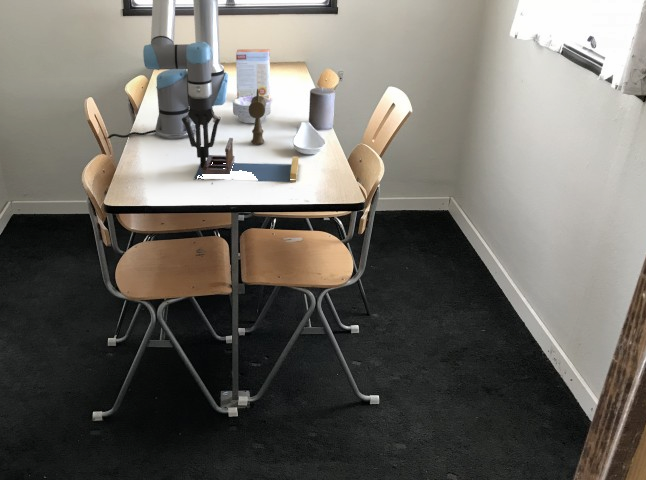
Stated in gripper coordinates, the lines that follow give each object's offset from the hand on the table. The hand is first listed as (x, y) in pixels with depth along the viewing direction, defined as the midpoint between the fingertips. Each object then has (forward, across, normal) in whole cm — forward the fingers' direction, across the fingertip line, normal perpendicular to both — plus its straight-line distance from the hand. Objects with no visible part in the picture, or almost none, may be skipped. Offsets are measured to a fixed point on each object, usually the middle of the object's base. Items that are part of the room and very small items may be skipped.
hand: (203, 166), depth 240 cm
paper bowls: (+2, +10, +58) cm, 59 cm away
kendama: (+2, +16, +30) cm, 34 cm away
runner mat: (+2, +15, 0) cm, 15 cm away
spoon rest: (+2, +34, +27) cm, 43 cm away
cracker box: (+2, +8, +86) cm, 86 cm away
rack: (+2, +5, 0) cm, 5 cm away
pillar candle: (+2, +38, +52) cm, 65 cm away
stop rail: (+1, +31, 0) cm, 31 cm away
